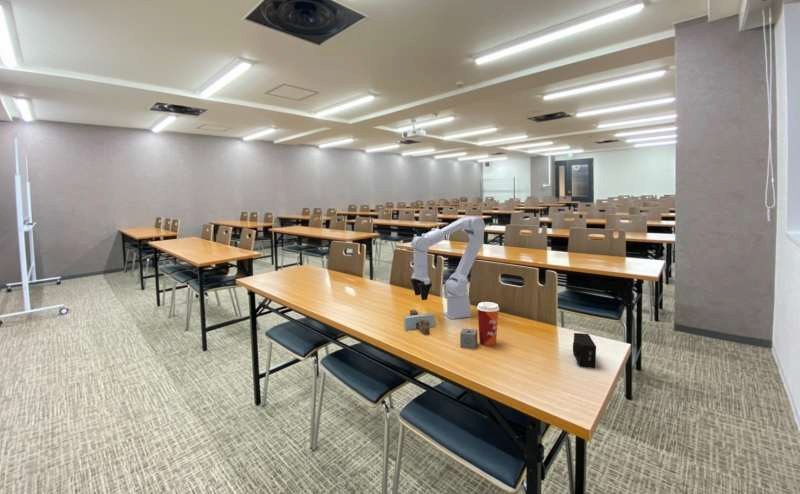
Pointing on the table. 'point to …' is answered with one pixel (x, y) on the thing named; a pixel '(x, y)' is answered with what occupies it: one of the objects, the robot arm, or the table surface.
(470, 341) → the gray cube with hole
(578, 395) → the table surface
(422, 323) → the walnut u-shaped block
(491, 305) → the paper cup
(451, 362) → the table surface
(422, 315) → the pale blue-gray block
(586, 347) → the digital camera
